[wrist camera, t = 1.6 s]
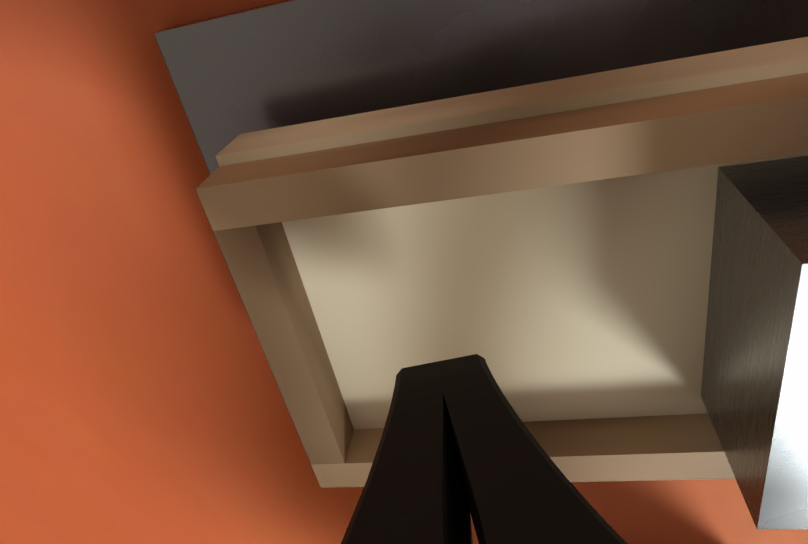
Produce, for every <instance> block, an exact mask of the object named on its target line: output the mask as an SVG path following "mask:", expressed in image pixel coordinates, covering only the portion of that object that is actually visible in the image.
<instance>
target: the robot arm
mask: <svg viewBox="0 0 808 544" xmlns="http://www.w3.org/2000/svg"><path fill="white" fill-rule="evenodd" d="M470 513H471V516H472V520H473V524H474V527H475V531H476V535H477V538H478V542H479V544H627V543H626V542H625V541H624V540H623V539H622V538H621V537H620V536H619V535H618V534H617V533H616V532H615V531H614V530H613V529H612V527H611V526H610V525H609V524H608V523H607V522H606V521H605V520H604V519H603V518H602V517H601V516H600V515H599V514H598V513H597V511H596V510H595V509H594V508H593V507H592V506H591V505H590V504H589V503H588V502H587V500H586V499H585V498H584V497H583V496H582V495H581V494H580V492H579V491H578V490H577V489H576V488H575V487H574V486H573V484H572V483H571V482H570V481H569V480H568V479H567V478H566V476H565V475H564V474H563V473H562V472H561V470H560V469H559V468H558V467H557V466H556V464H555V463H554V462H553V461H552V460H551V458H550V457H549V456H548V455H547V453H546V452H545V451H544V449H543V448H542V447H541V446H540V444H539V443H538V442H537V440H536V439H535V438H534V436H533V435H532V434H531V433H530V431H529V430H528V429H527V427H526V426H525V425H524V423H523V422H522V420H521V419H520V418H519V416H518V415H517V413H516V412H515V411H514V409H513V408H512V406H511V405H510V403H509V402H508V400H507V399H506V397H505V395H504V394H503V392H502V391H501V389H500V387H499V386H498V384H497V382H496V381H495V379H494V377H493V375H492V373H491V371H490V369H489V367H488V365H487V363H486V360H485V358H483V357H481V356H480V355H478V354H474V355H468V356H463V357H458V358H453V359H448V360H442V361H437V362H432V363H427V364H422V365H417V366H411V367H406V368H402V369H401V370H400V371H399V372H398V374H397V375H396V380H395V387H394V391H393V396H392V400H391V405H390V409H389V412H388V416H387V420H386V423H385V426H384V430H383V433H382V437H381V440H380V443H379V446H378V449H377V452H376V455H375V458H374V460H373V463H372V466H371V469H370V472H369V475H368V478H367V481H366V483H365V486H364V489H363V491H362V494H361V496H360V499H359V501H358V504H357V506H356V508H355V511H354V513H353V516H352V518H351V521H350V523H349V526H348V528H347V530H346V533H345V535H344V538H343V540H342V542H341V544H473V541H472V529H471V517H470Z"/></svg>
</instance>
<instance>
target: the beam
mask: <svg viewBox="0 0 808 544" xmlns="http://www.w3.org/2000/svg"><path fill="white" fill-rule="evenodd" d="M801 156H808V37H803V38H797V39H791V40H785V41H779V42H774V43H768V44H762V45H756V46H750V47H744V48H739V49H733V50H727V51H721V52H715V53H709V54H704V55H698V56H692V57H686V58H680V59H674V60H669V61H663V62H657V63H651V64H645V65H639V66H634V67H628V68H622V69H616V70H610V71H604V72H599V73H593V74H587V75H581V76H575V77H569V78H564V79H558V80H552V81H546V82H540V83H534V84H529V85H523V86H517V87H511V88H505V89H499V90H494V91H488V92H482V93H476V94H470V95H464V96H459V97H453V98H447V99H441V100H435V101H429V102H424V103H418V104H412V105H406V106H400V107H394V108H389V109H383V110H377V111H371V112H365V113H359V114H354V115H348V116H342V117H336V118H330V119H324V120H319V121H313V122H307V123H301V124H295V125H289V126H284V127H278V128H272V129H266V130H260V131H254V132H249V133H243V134H240V135H239V136H237V137H236V138H235V139H234V140H233V141H232V142H231V143H229V144H228V145H227V146H226V147H225V148H224V149H223V150H221V151H220V152H219V153H218V154H217V155H216V159H217V161H218V164H219V167H218V168H217V169H216V170H215V171H214V172H213V173H212V174H211V175H210V176H208V177H207V178H206V179H205V180H204V181H203V182H202V183H201V184H200V185H199V186H198V187H197V188H196V192H197V194H198V197H199V199H200V201H201V204H202V206H203V209H204V211H205V213H206V216H207V218H208V220H209V223H210V225H211V228H212V230H213V232H214V235H215V237H216V239H217V242H218V244H219V247H220V249H221V251H222V254H223V256H224V259H225V261H226V263H227V266H228V268H229V270H230V273H231V275H232V278H233V280H234V282H235V285H236V287H237V289H238V292H239V294H240V297H241V299H242V301H243V304H244V306H245V309H246V311H247V313H248V316H249V318H250V320H251V323H252V325H253V328H254V330H255V332H256V335H257V337H258V340H259V342H260V344H261V347H262V349H263V351H264V354H265V356H266V359H267V361H268V363H269V366H270V368H271V370H272V373H273V375H274V378H275V380H276V382H277V385H278V387H279V390H280V392H281V394H282V397H283V399H284V401H285V404H286V406H287V409H288V411H289V413H290V416H291V418H292V420H293V423H294V425H295V428H296V430H297V432H298V435H299V437H300V440H301V442H302V444H303V447H304V449H305V451H306V454H307V456H308V459H309V461H310V463H311V466H312V468H313V471H314V473H315V475H316V478H317V480H318V482H319V485H320V487H321V488H334V487H364V486H365V483H366V481H367V478H368V475H369V472H370V469H371V466H372V463H373V460H374V458H375V455H376V452H377V449H378V446H379V443H380V440H381V437H382V433H383V430H384V426H385V423H386V420H387V416H388V412H389V409H390V405H391V400H392V396H393V391H394V387H395V380H396V375H397V374H398V372H399V371H400V370H401V369H402V368H406V367H411V366H417V365H422V364H427V363H432V362H437V361H442V360H448V359H453V358H458V357H463V356H468V355H474V354H478V355H480V356H481V357H483V358H485V360H486V363H487V365H488V367H489V369H490V371H491V373H492V375H493V377H494V379H495V381H496V382H497V384H498V386H499V387H500V389H501V391H502V392H503V394H504V395H505V397H506V399H507V400H508V402H509V403H510V405H511V406H512V408H513V409H514V411H515V412H516V413H517V415H518V416H519V418H520V419H521V420H522V422H523V423H524V425H525V426H526V427H527V429H528V430H529V431H530V433H531V434H532V435H533V436H534V438H535V439H536V440H537V442H538V443H539V444H540V446H541V447H542V448H543V449H544V451H545V452H546V453H547V455H548V456H549V457H550V458H551V460H552V461H553V462H554V463H555V464H556V466H557V467H558V468H559V469H560V470H561V472H562V473H563V474H564V475H565V476H566V478H567V479H568V480H569V481H570V482H606V481H651V480H697V479H736V478H735V476H734V474H733V471H732V469H731V467H730V464H729V462H728V459H727V457H726V455H725V452H724V450H723V448H722V445H721V443H720V441H719V438H718V436H717V433H716V431H715V429H714V426H713V424H712V422H711V419H710V417H709V414H708V412H707V410H706V407H705V405H704V403H703V400H702V398H701V386H702V373H703V361H704V348H705V335H706V322H707V309H708V296H709V283H710V270H711V257H712V244H713V231H714V218H715V205H716V192H717V179H718V167H724V166H732V165H740V164H747V163H755V162H762V161H770V160H778V159H785V158H793V157H801Z"/></svg>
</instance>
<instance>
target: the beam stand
mask: <svg viewBox="0 0 808 544" xmlns="http://www.w3.org/2000/svg"><path fill="white" fill-rule="evenodd" d="M154 35H155V38H156V40H157V43H158V45H159V48H160V50H161V53H162V55H163V58H164V60H165V63H166V65H167V68H168V70H169V73H170V75H171V78H172V80H173V83H174V85H175V88H176V90H177V93H178V95H179V98H180V100H181V103H182V105H183V108H184V110H185V113H186V115H187V118H188V120H189V123H190V125H191V128H192V130H193V133H194V135H195V138H196V140H197V143H198V145H199V148H200V150H201V153H202V155H203V158H204V160H205V163H206V165H207V168H208V170H209V173H210V175H211V174H212V173H213V172H214V171H215V170H216V169H217V168H218V167H219V164H218V161H217V159H216V155H217V154H218V153H219V152H220V151H221V150H223V149H224V148H225V147H226V146H227V145H228V144H229V143H231V142H232V141H233V140H234V139H235V138H236V137H237V136H239V135H240V134H243V133H249V132H254V131H260V130H266V129H272V128H278V127H284V126H289V125H295V124H301V123H307V122H313V121H319V120H324V119H330V118H336V117H342V116H348V115H354V114H359V113H365V112H371V111H377V110H383V109H389V108H394V107H400V106H406V105H412V104H418V103H424V102H429V101H435V100H441V99H447V98H453V97H459V96H464V95H470V94H476V93H482V92H488V91H494V90H499V89H505V88H511V87H517V86H523V85H529V84H534V83H540V82H546V81H552V80H558V79H564V78H569V77H575V76H581V75H587V74H593V73H599V72H604V71H610V70H616V69H622V68H628V67H634V66H639V65H645V64H651V63H657V62H663V61H669V60H674V59H680V58H686V57H692V56H698V55H704V54H709V53H715V52H721V51H727V50H733V49H739V48H744V47H750V46H756V45H762V44H768V43H774V42H779V41H785V40H791V39H797V38H803V37H808V0H287V1H283V2H279V3H275V4H270V5H266V6H262V7H258V8H253V9H249V10H245V11H241V12H236V13H232V14H228V15H224V16H219V17H215V18H211V19H207V20H202V21H198V22H194V23H190V24H185V25H181V26H177V27H173V28H168V29H164V30H161V31H158V32H156V33H154Z"/></svg>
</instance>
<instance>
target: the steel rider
mask: <svg viewBox="0 0 808 544" xmlns="http://www.w3.org/2000/svg"><path fill="white" fill-rule="evenodd" d="M701 398H702V400H703V403H704V405H705V407H706V410H707V412H708V414H709V417H710V419H711V422H712V424H713V426H714V429H715V431H716V433H717V436H718V438H719V441H720V443H721V445H722V448H723V450H724V452H725V455H726V457H727V459H728V462H729V464H730V467H731V469H732V471H733V474H734V476H735V478H736V481H737V483H738V485H739V488H740V490H741V493H742V495H743V497H744V500H745V502H746V504H747V507H748V509H749V511H750V514H751V516H752V519H753V521H754V523H755V526H756V528H757V529H808V156H801V157H793V158H785V159H778V160H770V161H762V162H755V163H747V164H740V165H732V166H724V167H718V179H717V192H716V205H715V218H714V231H713V244H712V257H711V270H710V283H709V296H708V309H707V322H706V335H705V348H704V361H703V373H702V386H701Z"/></svg>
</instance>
